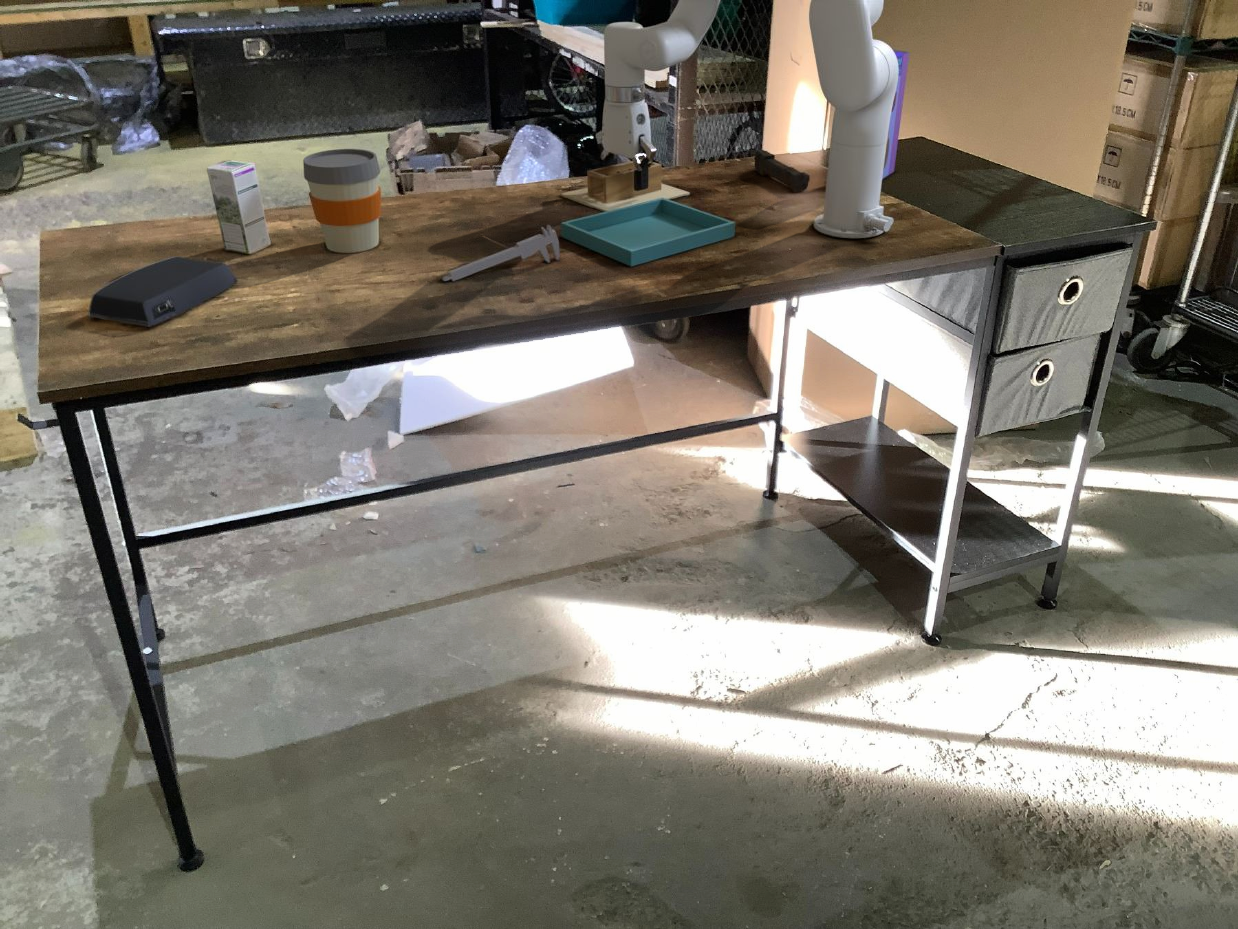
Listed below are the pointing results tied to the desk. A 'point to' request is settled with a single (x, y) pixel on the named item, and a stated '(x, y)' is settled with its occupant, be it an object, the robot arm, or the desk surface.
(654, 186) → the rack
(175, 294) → the hard drive
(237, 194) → the syrup box
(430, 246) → the desk surface
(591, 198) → the mat
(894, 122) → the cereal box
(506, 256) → the caliper
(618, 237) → the teal tray
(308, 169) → the reusable coffee cup
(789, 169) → the hand tool
